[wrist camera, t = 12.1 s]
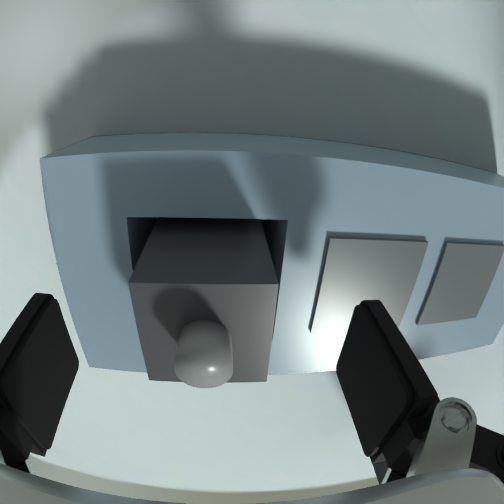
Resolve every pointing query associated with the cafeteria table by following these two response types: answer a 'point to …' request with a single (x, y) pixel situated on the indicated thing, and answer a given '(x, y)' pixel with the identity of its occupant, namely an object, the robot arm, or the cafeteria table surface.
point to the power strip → (285, 237)
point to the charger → (205, 301)
